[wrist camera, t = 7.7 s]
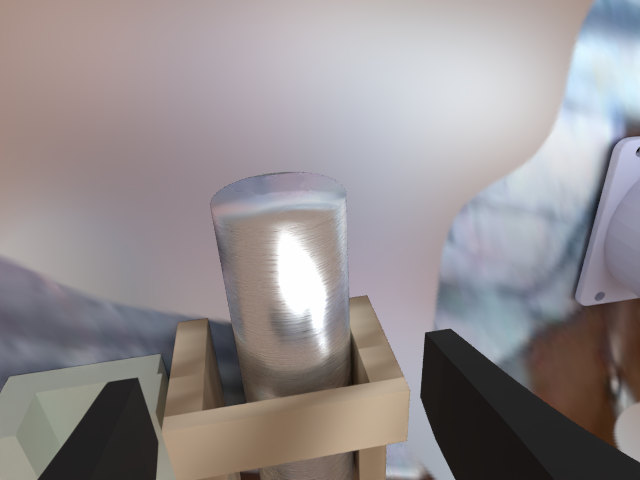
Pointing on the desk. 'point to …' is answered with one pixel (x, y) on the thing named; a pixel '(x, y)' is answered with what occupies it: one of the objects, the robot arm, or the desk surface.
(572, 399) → the desk surface
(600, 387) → the desk surface
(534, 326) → the desk surface
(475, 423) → the robot arm
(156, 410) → the cradle
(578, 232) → the desk surface
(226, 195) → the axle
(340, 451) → the wooden bracket frame
